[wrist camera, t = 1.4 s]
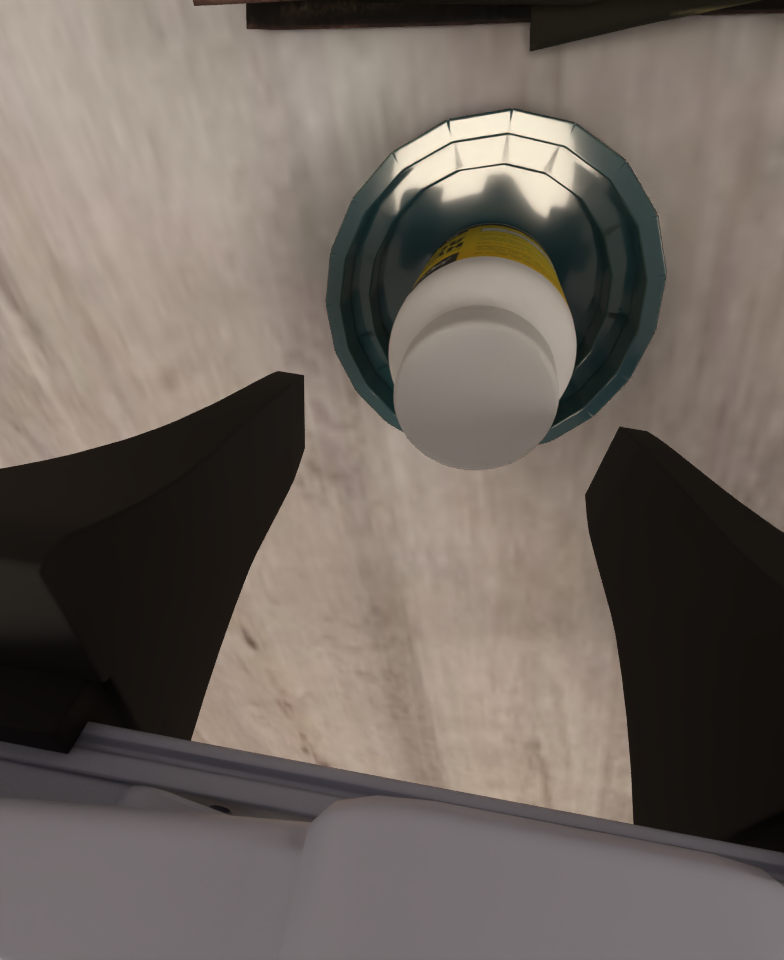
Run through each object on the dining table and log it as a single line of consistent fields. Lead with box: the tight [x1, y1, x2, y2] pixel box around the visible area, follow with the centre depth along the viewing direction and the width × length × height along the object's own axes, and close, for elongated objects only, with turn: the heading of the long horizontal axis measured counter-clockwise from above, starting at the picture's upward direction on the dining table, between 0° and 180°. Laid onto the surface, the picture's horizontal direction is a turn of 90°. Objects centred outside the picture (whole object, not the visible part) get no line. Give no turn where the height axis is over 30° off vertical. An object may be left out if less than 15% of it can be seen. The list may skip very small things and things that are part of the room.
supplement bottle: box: [388, 223, 577, 470], centre depth 15 cm, size 5×5×10 cm
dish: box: [326, 109, 667, 445], centre depth 18 cm, size 12×12×3 cm
